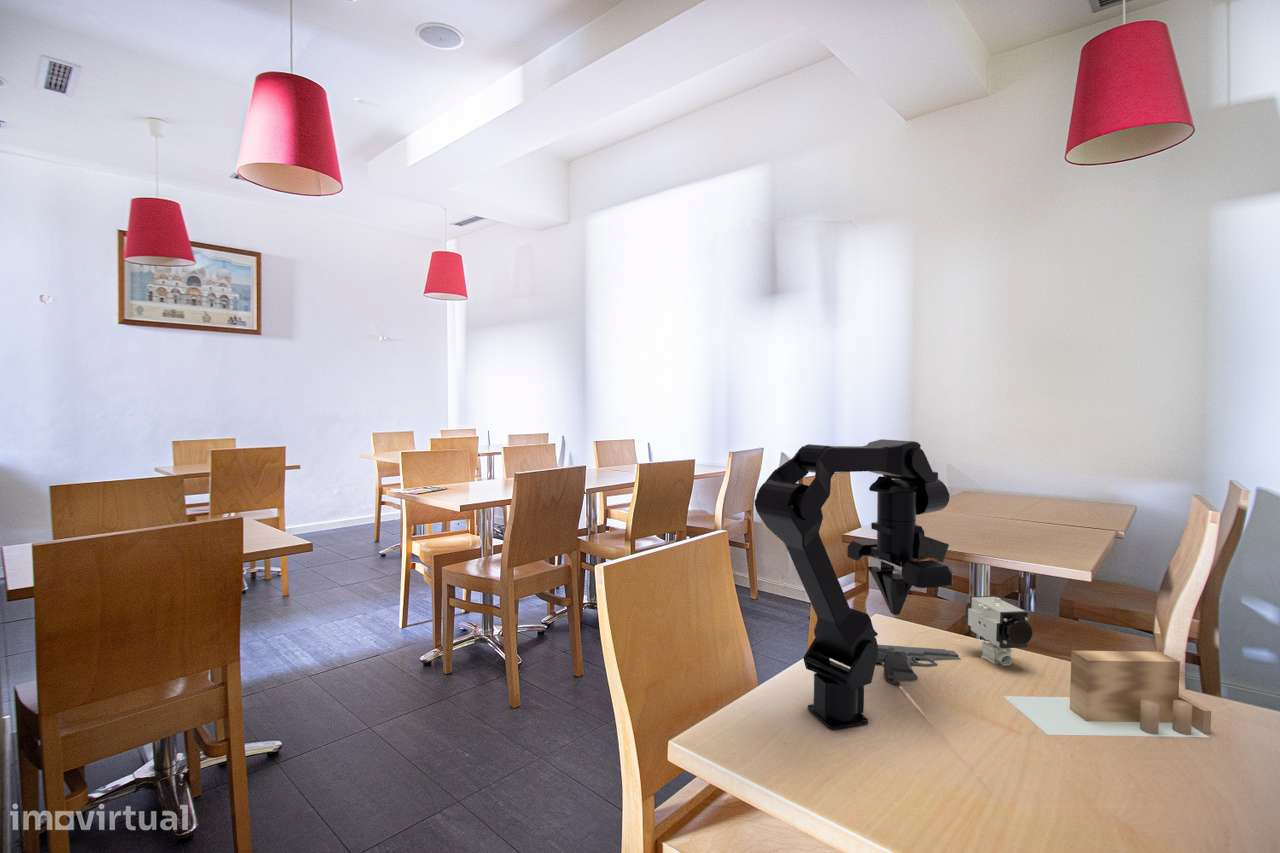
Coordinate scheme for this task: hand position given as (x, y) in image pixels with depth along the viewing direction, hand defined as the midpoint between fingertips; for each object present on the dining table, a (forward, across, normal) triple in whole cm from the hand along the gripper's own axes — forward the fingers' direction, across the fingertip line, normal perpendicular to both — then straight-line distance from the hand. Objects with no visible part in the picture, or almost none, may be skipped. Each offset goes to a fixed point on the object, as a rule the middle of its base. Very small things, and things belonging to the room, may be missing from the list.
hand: (895, 614), depth 98 cm
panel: (+13, -15, -24) cm, 31 cm away
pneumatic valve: (+14, +5, -24) cm, 28 cm away
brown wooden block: (+12, -16, -27) cm, 34 cm away
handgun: (+14, +6, -10) cm, 18 cm away
